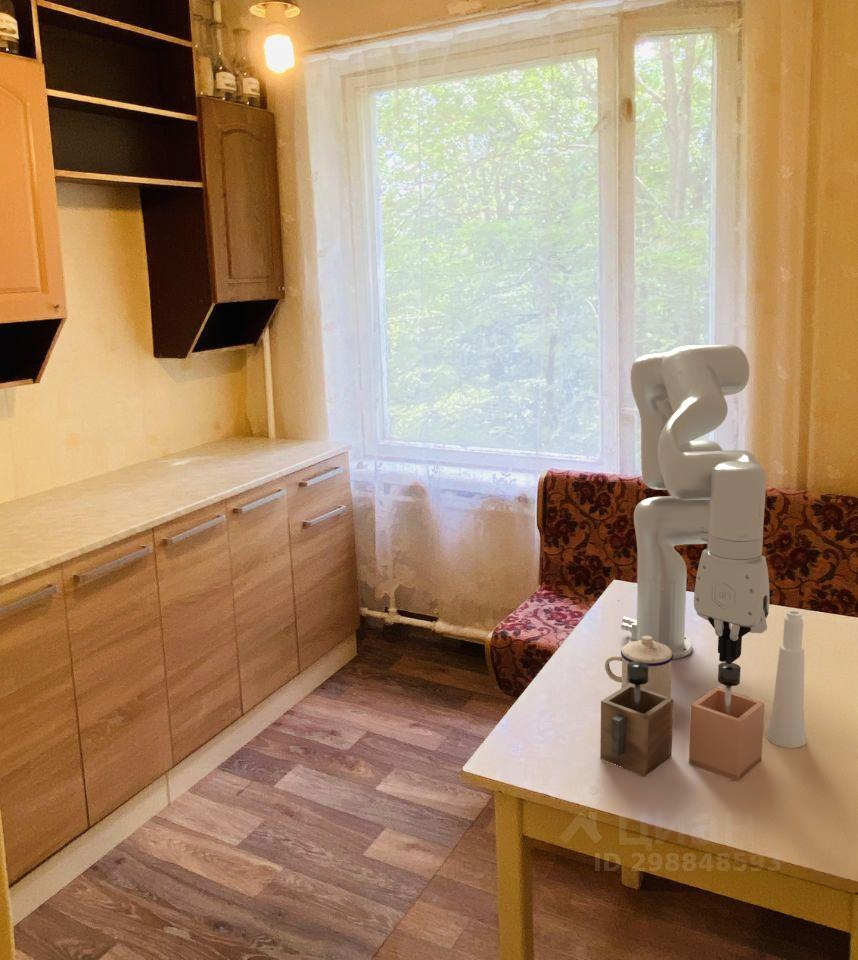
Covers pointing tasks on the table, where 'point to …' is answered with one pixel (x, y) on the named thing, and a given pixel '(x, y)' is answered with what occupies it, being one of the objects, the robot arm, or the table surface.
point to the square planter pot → (726, 734)
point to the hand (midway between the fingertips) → (728, 659)
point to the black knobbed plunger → (728, 681)
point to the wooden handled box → (636, 730)
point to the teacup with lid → (650, 654)
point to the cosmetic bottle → (789, 687)
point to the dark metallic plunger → (637, 679)
